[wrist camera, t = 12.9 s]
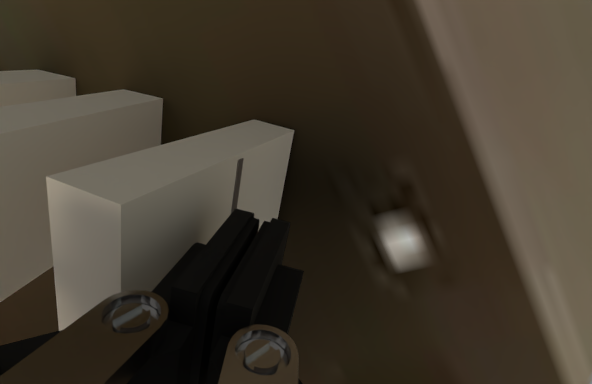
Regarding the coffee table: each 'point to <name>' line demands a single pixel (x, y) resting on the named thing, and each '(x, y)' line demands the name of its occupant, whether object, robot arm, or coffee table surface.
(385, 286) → the coffee table surface
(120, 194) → the domino
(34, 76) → the domino
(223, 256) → the robot arm
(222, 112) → the coffee table surface
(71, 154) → the domino
